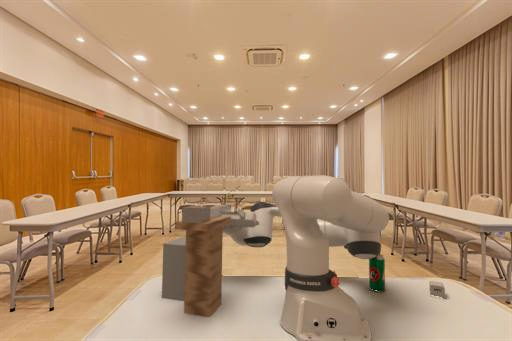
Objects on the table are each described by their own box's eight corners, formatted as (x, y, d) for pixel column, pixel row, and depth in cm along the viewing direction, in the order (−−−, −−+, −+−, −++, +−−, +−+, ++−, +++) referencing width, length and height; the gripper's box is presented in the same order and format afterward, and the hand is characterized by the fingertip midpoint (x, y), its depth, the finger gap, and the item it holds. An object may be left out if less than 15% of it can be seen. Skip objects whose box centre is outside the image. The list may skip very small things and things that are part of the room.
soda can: (386, 293, 90) (386, 257, 90) (371, 291, 91) (370, 256, 91) (382, 287, 95) (382, 253, 95) (367, 286, 96) (367, 252, 96)
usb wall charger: (430, 296, 87) (430, 284, 88) (429, 289, 93) (428, 278, 94) (445, 299, 85) (444, 286, 86) (442, 292, 91) (442, 280, 92)
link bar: (235, 213, 95) (235, 202, 95) (202, 223, 70) (202, 208, 70) (219, 212, 97) (219, 201, 97) (182, 222, 72) (182, 207, 72)
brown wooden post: (229, 299, 84) (230, 216, 85) (207, 325, 68) (209, 223, 70) (200, 295, 86) (202, 215, 88) (172, 319, 71) (175, 221, 72)
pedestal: (206, 282, 98) (207, 236, 98) (184, 300, 82) (185, 245, 83) (187, 280, 100) (188, 234, 101) (161, 297, 84) (163, 243, 85)
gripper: (259, 233, 100) (250, 219, 89) (209, 230, 105) (195, 216, 94) (261, 218, 103) (253, 202, 92) (212, 215, 108) (199, 200, 97)
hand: (223, 209), depth 93 cm, fingers open, 8 cm apart
